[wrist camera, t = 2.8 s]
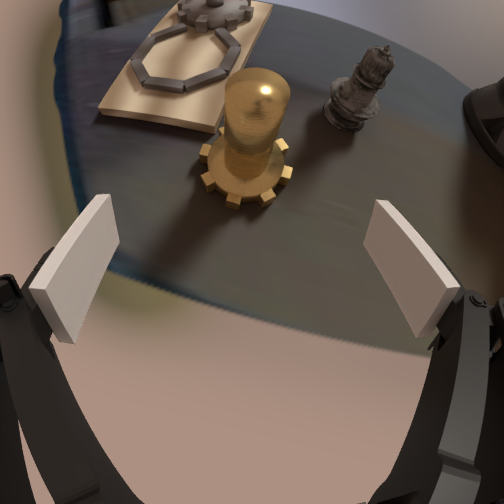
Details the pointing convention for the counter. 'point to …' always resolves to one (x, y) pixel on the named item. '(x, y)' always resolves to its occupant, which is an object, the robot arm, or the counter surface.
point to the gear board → (187, 64)
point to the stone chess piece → (359, 91)
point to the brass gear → (249, 140)
